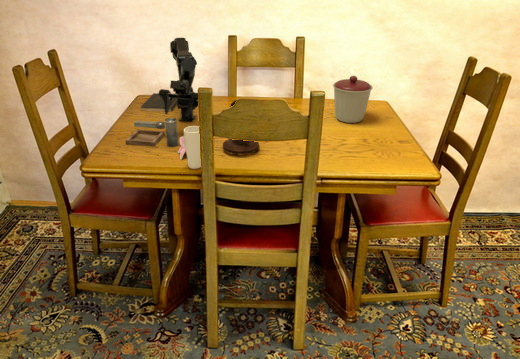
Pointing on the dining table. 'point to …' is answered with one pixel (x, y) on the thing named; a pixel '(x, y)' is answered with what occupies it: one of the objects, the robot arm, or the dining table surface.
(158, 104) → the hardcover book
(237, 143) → the dark round disc base
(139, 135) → the taupe tray
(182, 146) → the lily
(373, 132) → the dining table surface
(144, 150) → the dining table surface
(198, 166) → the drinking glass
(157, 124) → the grey ratchet handle
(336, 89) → the canister
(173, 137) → the polished metal cylinder
